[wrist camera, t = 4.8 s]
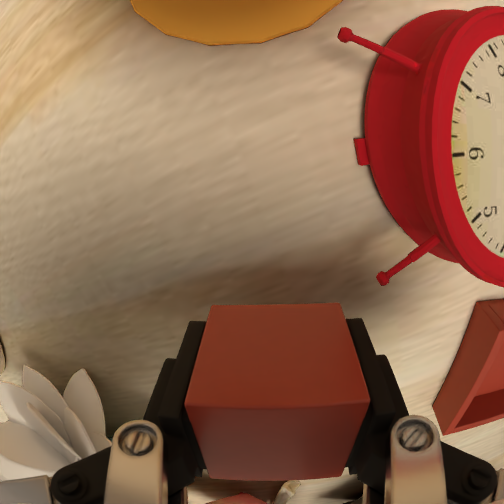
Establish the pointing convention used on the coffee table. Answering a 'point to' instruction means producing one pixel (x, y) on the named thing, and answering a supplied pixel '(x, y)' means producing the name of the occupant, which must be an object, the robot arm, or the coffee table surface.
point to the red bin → (475, 373)
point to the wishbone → (286, 492)
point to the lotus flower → (49, 425)
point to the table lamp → (231, 18)
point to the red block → (276, 392)
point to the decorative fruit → (239, 499)
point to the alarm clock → (441, 136)
